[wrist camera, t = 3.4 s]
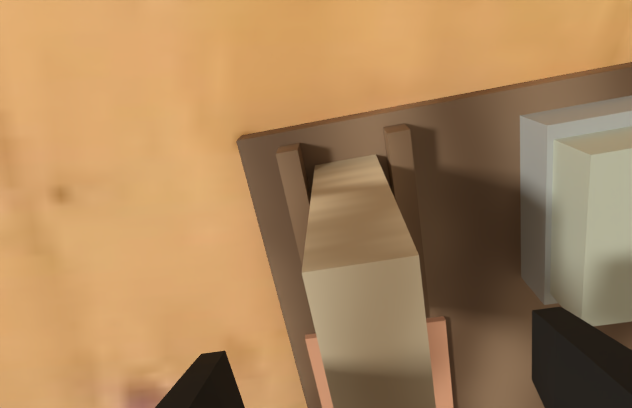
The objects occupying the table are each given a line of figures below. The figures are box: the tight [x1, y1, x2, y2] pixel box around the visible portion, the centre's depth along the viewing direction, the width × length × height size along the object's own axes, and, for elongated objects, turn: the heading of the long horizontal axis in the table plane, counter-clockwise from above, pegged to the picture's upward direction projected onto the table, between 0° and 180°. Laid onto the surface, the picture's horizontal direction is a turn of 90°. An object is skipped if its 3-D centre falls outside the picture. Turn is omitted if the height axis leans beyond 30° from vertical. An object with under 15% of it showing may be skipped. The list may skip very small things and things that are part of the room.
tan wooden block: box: [302, 155, 436, 408], centre depth 13 cm, size 2×6×8 cm, turn 11°
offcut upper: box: [550, 126, 632, 326], centre depth 13 cm, size 4×6×2 cm, turn 11°
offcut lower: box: [520, 95, 632, 305], centre depth 15 cm, size 4×7×2 cm, turn 11°
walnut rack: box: [237, 62, 632, 408], centre depth 17 cm, size 16×16×2 cm
